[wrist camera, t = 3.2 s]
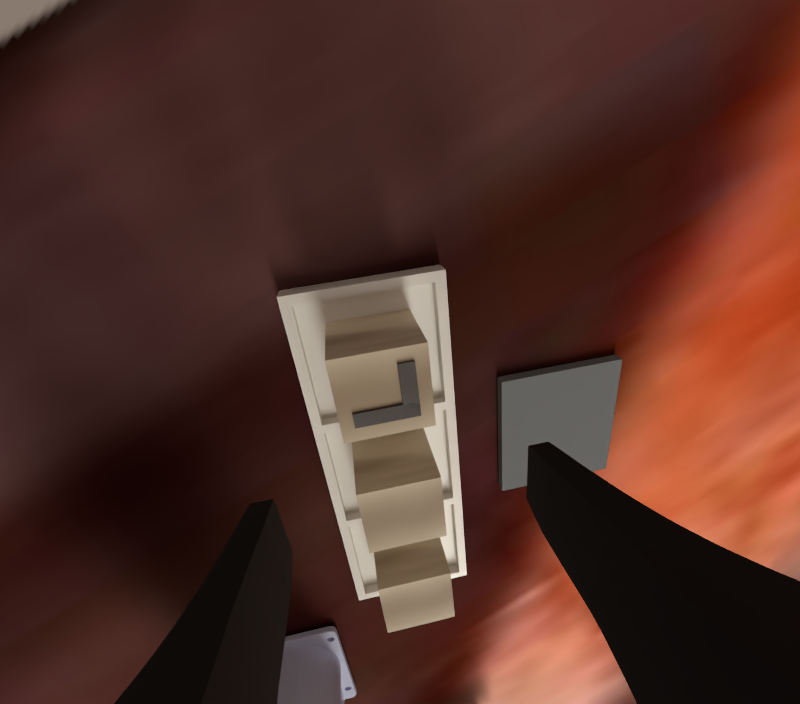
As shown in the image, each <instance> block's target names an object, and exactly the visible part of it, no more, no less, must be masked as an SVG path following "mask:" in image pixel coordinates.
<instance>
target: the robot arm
mask: <svg viewBox="0 0 800 704" xmlns="http://www.w3.org/2000/svg"><path fill="white" fill-rule="evenodd" d="M527 500H528V502H529V505H530V507H531V509H532V511H533V514H534V516H535V518H536V520H537V522H538V524H539V526H540V528H541V530H542V532H543V534H544V536H545V537H546V539H547V541H548V543H549V544H550V546H551V547H552V549H553V551H554V552H555V554H556V556H557V557H558V559H559V561H560V562H561V564H562V566H563V567H564V569H565V570H566V572H567V574H568V575H569V577H570V579H571V580H572V582H573V584H574V585H575V587H576V588H577V590H578V592H579V593H580V595H581V597H582V598H583V600H584V601H585V603H586V605H587V606H588V608H589V610H590V611H591V613H592V615H593V617H594V618H595V620H596V622H597V624H598V626H599V627H600V629H601V631H602V633H603V635H604V637H605V639H606V641H607V643H608V645H609V647H610V649H611V651H612V653H613V655H614V657H615V659H616V661H617V663H618V665H619V667H620V669H621V671H622V673H623V675H624V677H625V679H626V681H627V683H628V685H629V688H630V690H631V692H632V694H633V696H634V698H635V700H636V702H637V704H800V581H798V580H795V579H793V578H790V577H788V576H786V575H783V574H781V573H779V572H776V571H774V570H771V569H769V568H767V567H765V566H762V565H760V564H758V563H756V562H754V561H751V560H749V559H747V558H745V557H742V556H740V555H738V554H736V553H734V552H731V551H729V550H727V549H725V548H723V547H721V546H719V545H717V544H715V543H713V542H711V541H709V540H707V539H705V538H703V537H701V536H699V535H697V534H695V533H693V532H691V531H690V530H688V529H686V528H684V527H682V526H680V525H678V524H676V523H674V522H673V521H671V520H669V519H667V518H665V517H664V516H662V515H660V514H658V513H657V512H655V511H653V510H652V509H650V508H648V507H647V506H645V505H643V504H642V503H640V502H638V501H637V500H635V499H633V498H632V497H630V496H629V495H627V494H625V493H624V492H622V491H621V490H619V489H617V488H616V487H614V486H613V485H611V484H610V483H608V482H607V481H605V480H604V479H602V478H601V477H599V476H598V475H596V474H595V473H593V472H592V471H590V470H589V469H587V468H586V467H585V466H583V465H582V464H580V463H579V462H577V461H576V460H574V459H573V458H572V457H570V456H569V455H567V454H566V453H564V452H563V451H562V450H560V449H559V448H557V447H556V446H554V445H553V444H551V443H550V442H544V443H539V444H534V445H529V446H528V467H527ZM291 578H292V549H291V546H290V543H289V541H288V538H287V535H286V532H285V530H284V527H283V524H282V521H281V519H280V516H279V513H278V510H277V508H276V505H275V502H274V499H271V500H267V501H262V502H257V503H252V504H250V505H249V507H248V508H247V510H246V511H245V513H244V515H243V517H242V518H241V520H240V522H239V524H238V525H237V527H236V529H235V531H234V532H233V534H232V536H231V538H230V539H229V541H228V543H227V544H226V546H225V548H224V549H223V551H222V553H221V554H220V556H219V558H218V559H217V561H216V563H215V564H214V566H213V567H212V569H211V571H210V572H209V574H208V576H207V577H206V579H205V580H204V582H203V584H202V585H201V587H200V588H199V590H198V591H197V593H196V594H195V596H194V597H193V599H192V600H191V602H190V603H189V605H188V606H187V608H186V609H185V611H184V612H183V614H182V615H181V616H180V618H179V619H178V621H177V622H176V624H175V625H174V627H173V628H172V630H171V631H170V632H169V634H168V635H167V636H166V638H165V639H164V641H163V642H162V643H161V645H160V646H159V647H158V649H157V650H156V651H155V653H154V654H153V655H152V657H151V658H150V659H149V661H148V662H147V663H146V665H145V666H144V667H143V668H142V670H141V671H140V672H139V674H138V675H137V676H136V677H135V679H134V680H133V681H132V682H131V684H130V685H129V686H128V687H127V689H126V690H125V691H124V692H123V693H122V695H121V696H120V697H119V698H118V700H117V701H116V702H115V703H114V704H345V702H344V700H345V699H348V698H352V697H354V696H355V695H356V686H355V683H354V680H353V677H352V674H351V671H350V668H349V665H348V662H347V659H346V656H345V653H344V650H343V647H342V644H341V641H340V638H339V635H338V632H337V629H336V628H335V627H334V626H327V627H323V628H319V629H315V630H311V631H307V632H303V633H298V634H294V635H290V636H286V637H285V635H286V628H287V620H288V612H289V604H290V596H291Z"/></svg>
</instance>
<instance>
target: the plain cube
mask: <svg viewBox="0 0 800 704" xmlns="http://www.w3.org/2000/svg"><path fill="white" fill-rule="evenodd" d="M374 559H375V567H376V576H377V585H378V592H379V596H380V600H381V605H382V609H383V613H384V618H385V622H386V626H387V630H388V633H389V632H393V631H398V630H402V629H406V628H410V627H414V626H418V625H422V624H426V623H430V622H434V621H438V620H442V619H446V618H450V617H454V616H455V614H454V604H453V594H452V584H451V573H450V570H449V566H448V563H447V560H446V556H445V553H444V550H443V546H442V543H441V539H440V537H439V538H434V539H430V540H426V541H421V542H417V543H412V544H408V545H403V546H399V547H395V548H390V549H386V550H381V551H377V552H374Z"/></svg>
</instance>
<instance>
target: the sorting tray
mask: <svg viewBox="0 0 800 704" xmlns="http://www.w3.org/2000/svg"><path fill="white" fill-rule="evenodd" d="M277 300H278V304H279V308H280V311H281V315H282V319H283V322H284V326H285V330H286V333H287V337H288V341H289V344H290V348H291V352H292V355H293V359H294V363H295V366H296V370H297V374H298V377H299V381H300V385H301V388H302V392H303V396H304V399H305V403H306V407H307V410H308V414H309V418H310V421H311V425H312V429H313V433H314V436H315V440H316V444H317V447H318V451H319V455H320V458H321V462H322V466H323V469H324V473H325V477H326V480H327V484H328V488H329V491H330V495H331V499H332V502H333V506H334V510H335V513H336V517H337V521H338V524H339V528H340V532H341V535H342V539H343V543H344V546H345V550H346V554H347V557H348V561H349V565H350V568H351V572H352V576H353V580H354V583H355V587H356V591H357V594H358V598H359V600H363V599H368V598H372V597H376V596H379V592H378V585H377V576H376V567H375V559H374V552H373V553H369V549H368V544H367V540H366V536H365V532H364V527H363V523H362V519H361V514H360V510H359V506H358V501H357V497H356V488H355V476H354V464H353V452H352V442H351V443H346V444H344V441H343V437H342V433H341V428H340V424H339V420H338V415H337V411H336V407H335V403H334V398H333V394H332V390H331V385H330V381H329V377H328V372H327V368H326V364H325V327H326V322H332V321H338V320H344V319H350V318H356V317H362V316H367V315H373V314H379V313H385V312H391V311H397V310H402V309H408V308H409V309H410V311H411V312H412V314H413V316H414V318H415V320H416V321H417V323H418V325H419V327H420V329H421V331H422V332H423V334H424V336H425V338H426V340H427V341H428V348H429V358H430V369H431V379H432V388H433V395H434V410H435V420H436V426H431V427H426V428H424V431H425V433H426V436H427V439H428V442H429V445H430V447H431V450H432V453H433V456H434V459H435V461H436V464H437V467H438V470H439V473H440V476H441V481H442V491H443V502H444V512H445V522H446V532H447V536H443V537H440V539H441V543H442V546H443V550H444V553H445V556H446V560H447V563H448V566H449V570H450V573H451V579H452V578H456V577H460V576H465V575H467V571H466V557H465V542H464V528H463V513H462V499H461V484H460V470H459V456H458V441H457V427H456V412H455V398H454V383H453V369H452V354H451V340H450V325H449V311H448V296H447V282H446V269H444V268H443V267H442V266H441V265H434V266H427V267H421V268H415V269H409V270H403V271H397V272H390V273H384V274H378V275H372V276H366V277H360V278H353V279H347V280H341V281H335V282H329V283H322V284H316V285H310V286H304V287H298V288H292V289H285V290H279V292H278V295H277Z"/></svg>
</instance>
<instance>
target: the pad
mask: <svg viewBox="0 0 800 704" xmlns="http://www.w3.org/2000/svg"><path fill="white" fill-rule="evenodd" d="M621 364H622V359H621V358H620V357H618V356H617V355H610V356H605V357H600V358H594V359H589V360H584V361H579V362H574V363H568V364H563V365H558V366H553V367H547V368H542V369H537V370H532V371H526V372H521V373H516V374H511V375H506V376H500V377H497V385H498V476H499V486H500V488H501V489H502V491H504V490H509V489H513V488H518V487H522V486H527V467H528V446H529V445H534V444H539V443H544V442H550V443H551V444H553V445H554V446H556V447H557V448H559V449H560V450H562V451H563V452H564V453H566V454H567V455H569V456H570V457H572V458H573V459H574V460H576V461H577V462H579V463H580V464H582V465H583V466H585V467H586V468H587V469H589V470H590V471H595V470H600V469H604V468H606V465H607V458H608V451H609V445H610V438H611V431H612V425H613V418H614V411H615V404H616V398H617V391H618V384H619V378H620V371H621Z"/></svg>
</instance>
